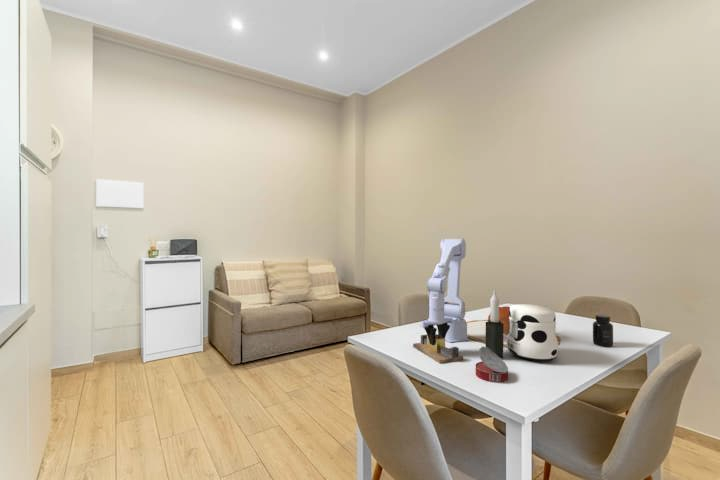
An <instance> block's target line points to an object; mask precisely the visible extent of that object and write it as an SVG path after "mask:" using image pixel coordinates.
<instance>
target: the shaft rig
mask: <svg viewBox="0 0 720 480" xmlns="http://www.w3.org/2000/svg"><path fill="white" fill-rule="evenodd" d="M412 346H413V347H412V348H415V349H416V350H418V351H419V352H421V353H422V354H424V355H425V356H427V357H428V358H430V359H432V360H433V361H435V362H436V363H438V364H446V363H451V362H459V361H463V360H464V356H463V355H461V354H459V351H460V350H459V347H457V346H451V347H446V346H445V347H443V348H441V352H438V353H436V352H434V351H432V350H430V349H428V348H427V334H420V342H416V343H413V344H412Z"/></svg>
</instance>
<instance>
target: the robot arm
mask: <svg viewBox="0 0 720 480" xmlns="http://www.w3.org/2000/svg"><path fill="white" fill-rule="evenodd" d="M439 247H440V251H441V257H440V261H439V263H437V264H436V265H435V267H434V271H433V273H432V276H431V277H430V278H428V280H427V282H426V290H427V296H428V299H429V300H428V303H429V304H428V305H429V307H428V309H429V310H428V311H429V313H428V314H429V316H428V318H427V319H426V320H422V321H419V327H420V328H423V329H424V331H425V333H426V335H428V339H429V343H430V344H431V345H434V344H435V334H438V335H439V336H441V337H444V338H445V342H448V343H456V342H464V341H469V338H468V323H467V320H466V319H465V316H466V303H465V300H463V299H462V298H461V297H460V280H461V266H462V260H464V259H465V258H466V255H467V253H466V252H467V243H466V240H465V238H442V239H441V241H440V245H439ZM447 279H448V280H447ZM446 291H447V296H445V293H446ZM435 326H436V327H435Z"/></svg>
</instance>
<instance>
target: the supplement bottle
mask: <svg viewBox="0 0 720 480" xmlns="http://www.w3.org/2000/svg"><path fill="white" fill-rule="evenodd" d="M592 342H593V344H594V345H595V346H597V347H603V348H611V347H614V325H613V324H612V323H611V317H610V316H608V315H604V314H596V315H595V321H593V323H592Z"/></svg>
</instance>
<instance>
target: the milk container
mask: <svg viewBox="0 0 720 480" xmlns="http://www.w3.org/2000/svg"><path fill="white" fill-rule="evenodd" d="M509 307H510V312H509V315H510V316H509V331H508V334H506V347H507V349H508V351H509V352H510V353H511V354H513V355H514V356H516V357H519V358H522V359H525V360H530V361H539V362H541V361H551V360H553V359H555V358H556V357H557V355H558V352H559V342H558V339H557V335H556V327H557V326H556V323H557V320H556V317H557V316H556V311H555V309H554V308H552V307H548V306H546V305H545V306H543V305H540V304H539V305H538V304H530V303H529V304H525V303H524V304H523V303H522V304H520V303H519V304H518V303H517V304H516V303H515V304H512V305H510V306H509Z"/></svg>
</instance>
